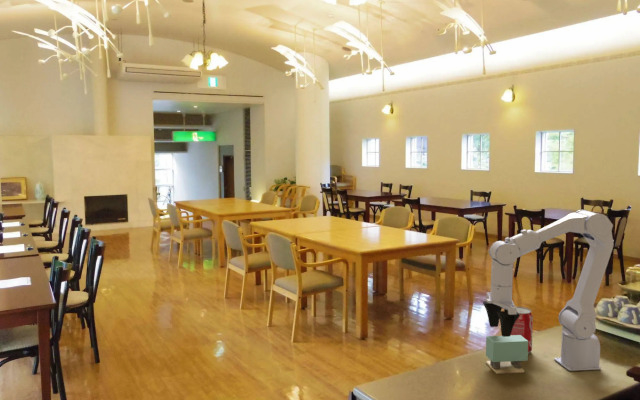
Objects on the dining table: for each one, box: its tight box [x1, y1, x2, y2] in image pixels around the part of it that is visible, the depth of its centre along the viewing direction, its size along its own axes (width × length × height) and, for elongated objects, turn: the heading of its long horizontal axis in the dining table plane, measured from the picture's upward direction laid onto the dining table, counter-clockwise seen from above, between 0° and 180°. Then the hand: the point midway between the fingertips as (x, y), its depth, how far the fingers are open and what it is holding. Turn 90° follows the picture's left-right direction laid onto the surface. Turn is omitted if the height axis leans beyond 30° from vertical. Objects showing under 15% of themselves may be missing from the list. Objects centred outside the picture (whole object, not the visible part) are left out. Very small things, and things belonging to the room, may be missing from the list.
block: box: [485, 335, 529, 362], centre depth 144 cm, size 10×5×6 cm, turn 96°
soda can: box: [511, 306, 534, 355], centre depth 156 cm, size 7×7×13 cm
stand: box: [485, 359, 525, 375], centre depth 145 cm, size 8×7×3 cm
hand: (499, 331), depth 146 cm, fingers open, 7 cm apart
